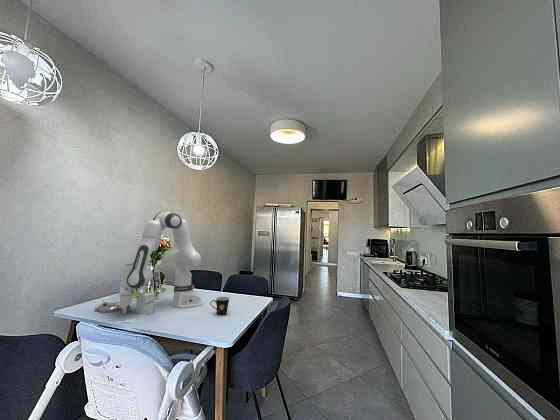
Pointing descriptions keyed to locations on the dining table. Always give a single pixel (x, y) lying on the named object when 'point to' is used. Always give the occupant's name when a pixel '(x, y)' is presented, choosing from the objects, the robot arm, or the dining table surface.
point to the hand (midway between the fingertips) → (125, 311)
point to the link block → (127, 309)
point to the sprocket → (108, 307)
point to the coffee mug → (221, 305)
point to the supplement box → (145, 303)
